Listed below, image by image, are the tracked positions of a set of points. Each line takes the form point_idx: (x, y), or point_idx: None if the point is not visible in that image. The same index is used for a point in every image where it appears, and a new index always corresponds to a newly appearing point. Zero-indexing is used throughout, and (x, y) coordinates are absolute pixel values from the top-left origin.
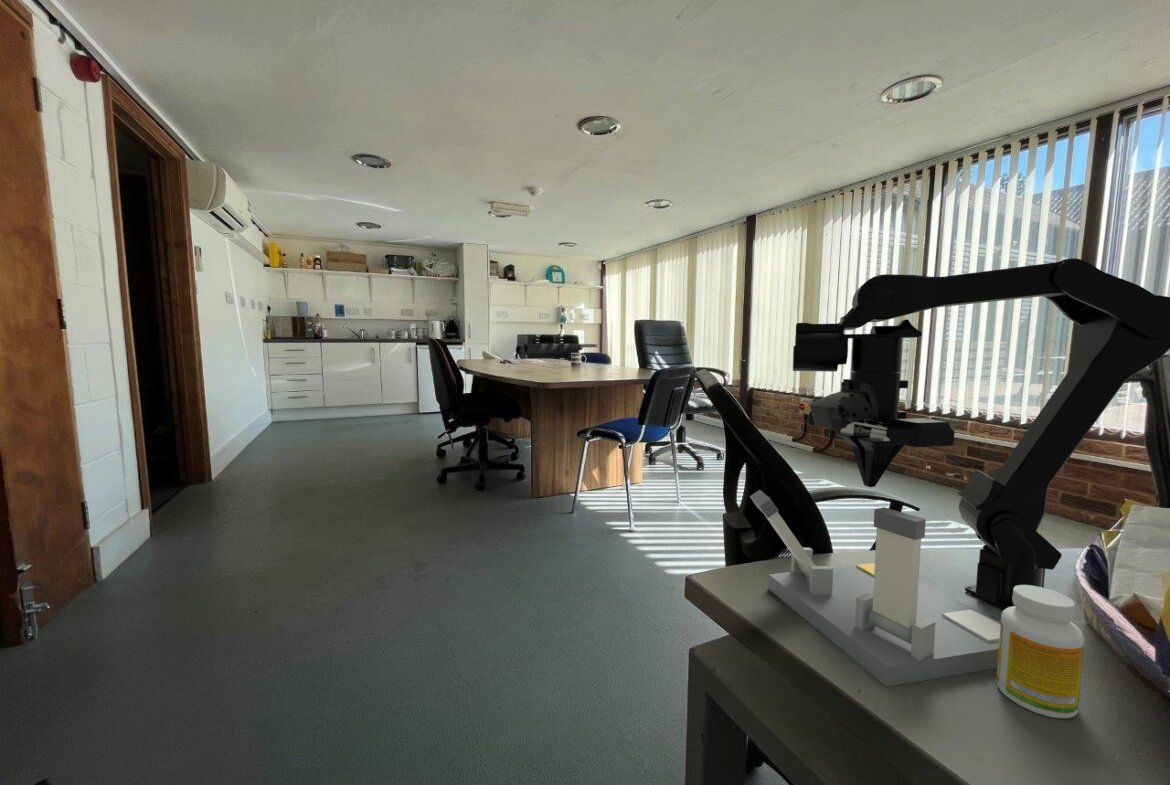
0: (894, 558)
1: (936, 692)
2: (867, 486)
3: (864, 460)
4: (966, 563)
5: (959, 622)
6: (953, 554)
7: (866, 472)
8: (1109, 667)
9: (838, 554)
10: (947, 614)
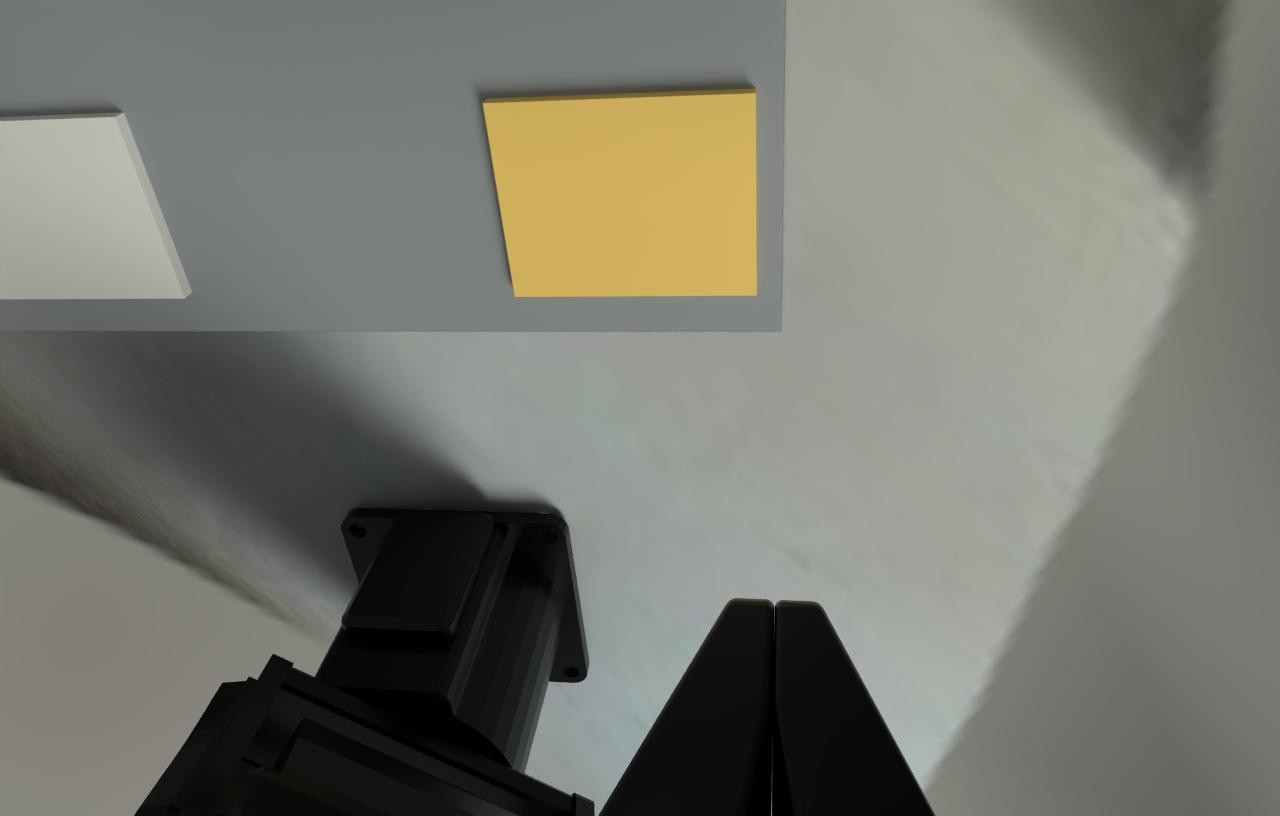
0: None
1: None
2: (763, 601)
3: None
4: None
5: (33, 127)
6: None
7: (722, 758)
8: (55, 475)
9: (1150, 244)
10: (110, 137)
